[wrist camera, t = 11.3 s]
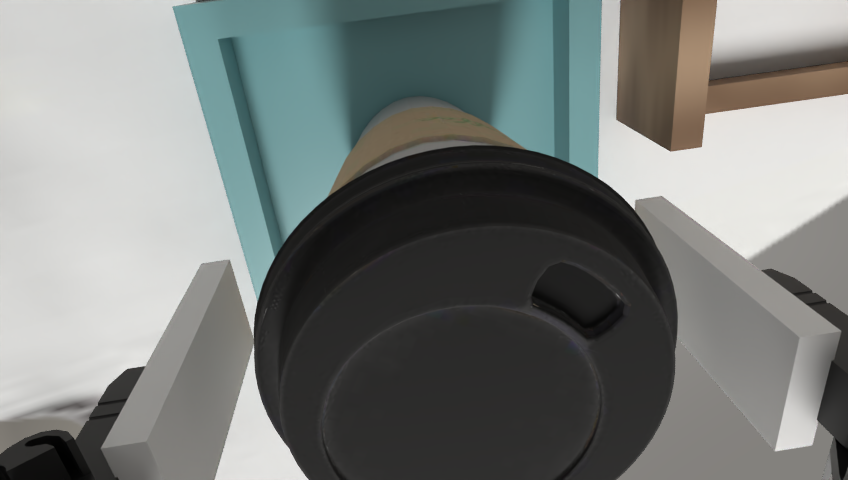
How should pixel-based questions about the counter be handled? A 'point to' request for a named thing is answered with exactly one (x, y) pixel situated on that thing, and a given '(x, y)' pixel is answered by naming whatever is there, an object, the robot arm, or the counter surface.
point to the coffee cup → (465, 314)
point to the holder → (695, 74)
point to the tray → (377, 88)
